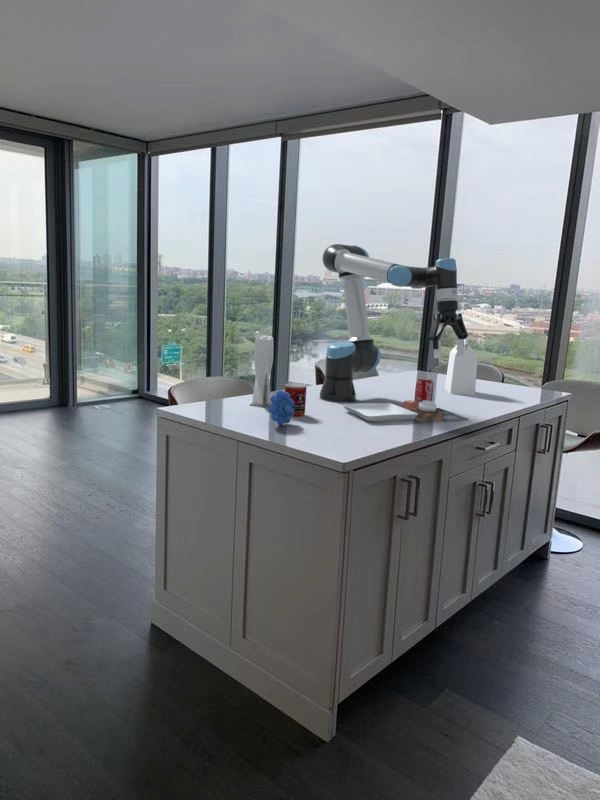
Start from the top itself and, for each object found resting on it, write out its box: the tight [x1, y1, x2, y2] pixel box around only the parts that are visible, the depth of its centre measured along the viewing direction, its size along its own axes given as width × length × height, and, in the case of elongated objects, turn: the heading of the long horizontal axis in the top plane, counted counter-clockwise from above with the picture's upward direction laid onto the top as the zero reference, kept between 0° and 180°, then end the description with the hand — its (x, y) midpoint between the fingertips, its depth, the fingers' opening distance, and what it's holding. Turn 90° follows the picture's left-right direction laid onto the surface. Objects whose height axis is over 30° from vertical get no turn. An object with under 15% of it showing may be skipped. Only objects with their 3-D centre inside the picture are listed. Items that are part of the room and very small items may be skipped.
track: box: [436, 407, 469, 422], centre depth 237 cm, size 10×19×1 cm, turn 21°
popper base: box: [410, 408, 445, 422], centre depth 229 cm, size 9×9×3 cm
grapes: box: [268, 390, 295, 426], centre depth 204 cm, size 12×7×12 cm, turn 137°
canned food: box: [284, 382, 307, 418], centre depth 222 cm, size 8×8×11 cm
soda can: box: [413, 376, 434, 407], centre depth 249 cm, size 7×7×12 cm
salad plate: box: [342, 402, 418, 423], centre depth 228 cm, size 21×21×3 cm
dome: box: [419, 400, 437, 412], centre depth 228 cm, size 6×6×3 cm
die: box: [402, 400, 419, 410], centre depth 239 cm, size 4×4×4 cm
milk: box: [444, 337, 478, 396], centre depth 289 cm, size 12×12×26 cm
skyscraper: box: [249, 330, 275, 408], centre depth 235 cm, size 8×8×28 cm
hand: (449, 357), depth 232 cm, fingers open, 13 cm apart
